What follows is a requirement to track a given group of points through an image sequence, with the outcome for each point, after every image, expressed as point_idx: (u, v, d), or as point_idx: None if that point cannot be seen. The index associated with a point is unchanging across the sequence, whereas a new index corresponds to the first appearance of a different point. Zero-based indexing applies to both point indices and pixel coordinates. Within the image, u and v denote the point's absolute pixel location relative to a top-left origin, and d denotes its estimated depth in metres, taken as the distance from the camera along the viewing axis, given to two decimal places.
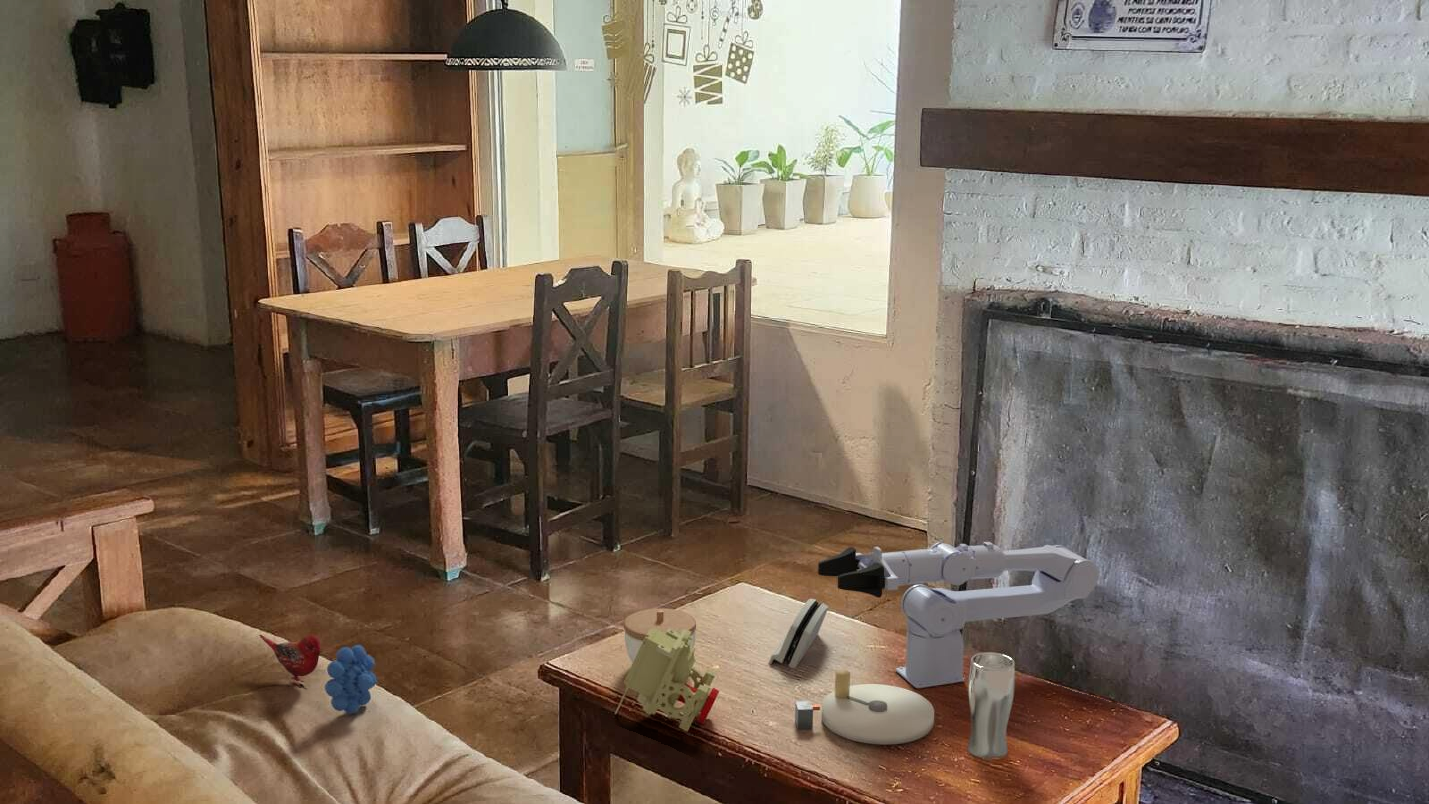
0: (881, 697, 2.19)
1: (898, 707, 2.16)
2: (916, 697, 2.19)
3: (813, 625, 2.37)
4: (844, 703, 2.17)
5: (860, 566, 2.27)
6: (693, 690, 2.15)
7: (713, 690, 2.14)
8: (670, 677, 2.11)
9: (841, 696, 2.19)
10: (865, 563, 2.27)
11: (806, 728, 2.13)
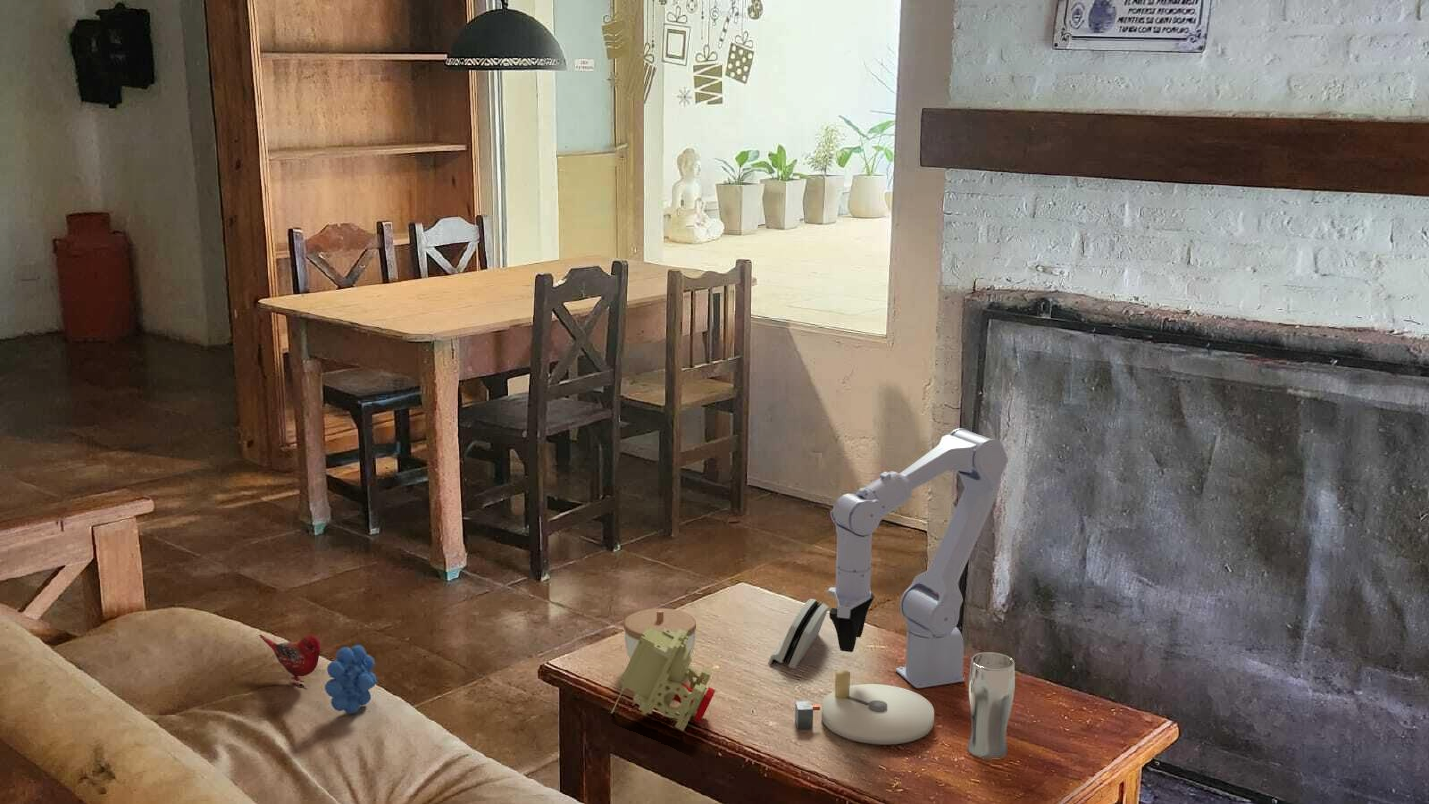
0: (881, 697, 2.19)
1: (898, 707, 2.16)
2: (916, 697, 2.19)
3: (813, 625, 2.37)
4: (844, 703, 2.17)
5: None
6: (689, 690, 2.15)
7: (709, 690, 2.14)
8: (666, 677, 2.11)
9: (841, 696, 2.19)
10: None
11: (806, 728, 2.13)
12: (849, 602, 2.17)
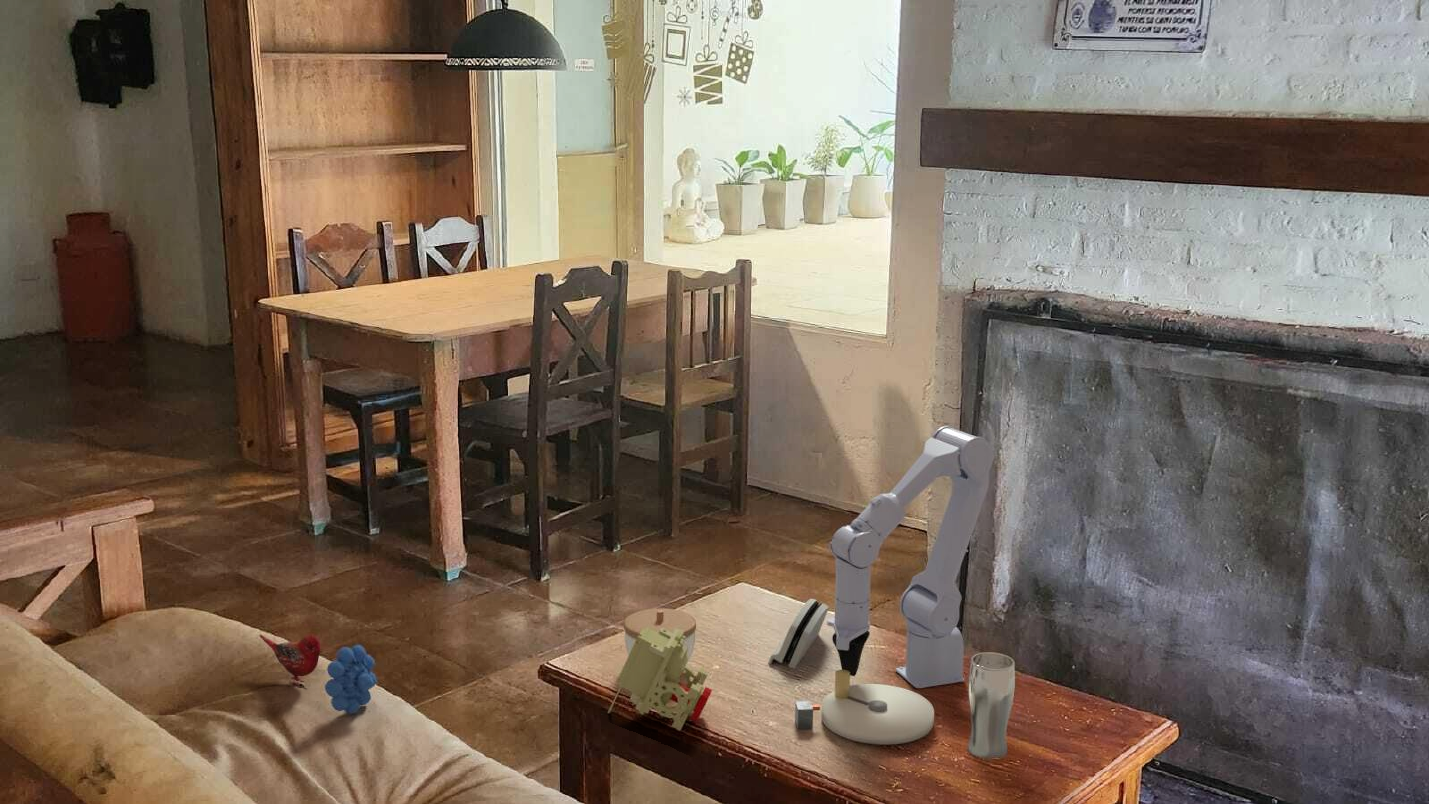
0: (881, 697, 2.19)
1: (898, 707, 2.16)
2: (916, 697, 2.19)
3: (813, 625, 2.37)
4: (844, 703, 2.17)
5: None
6: (686, 689, 2.15)
7: (706, 689, 2.15)
8: (663, 676, 2.11)
9: (841, 696, 2.19)
10: None
11: (806, 728, 2.13)
12: (848, 634, 2.19)
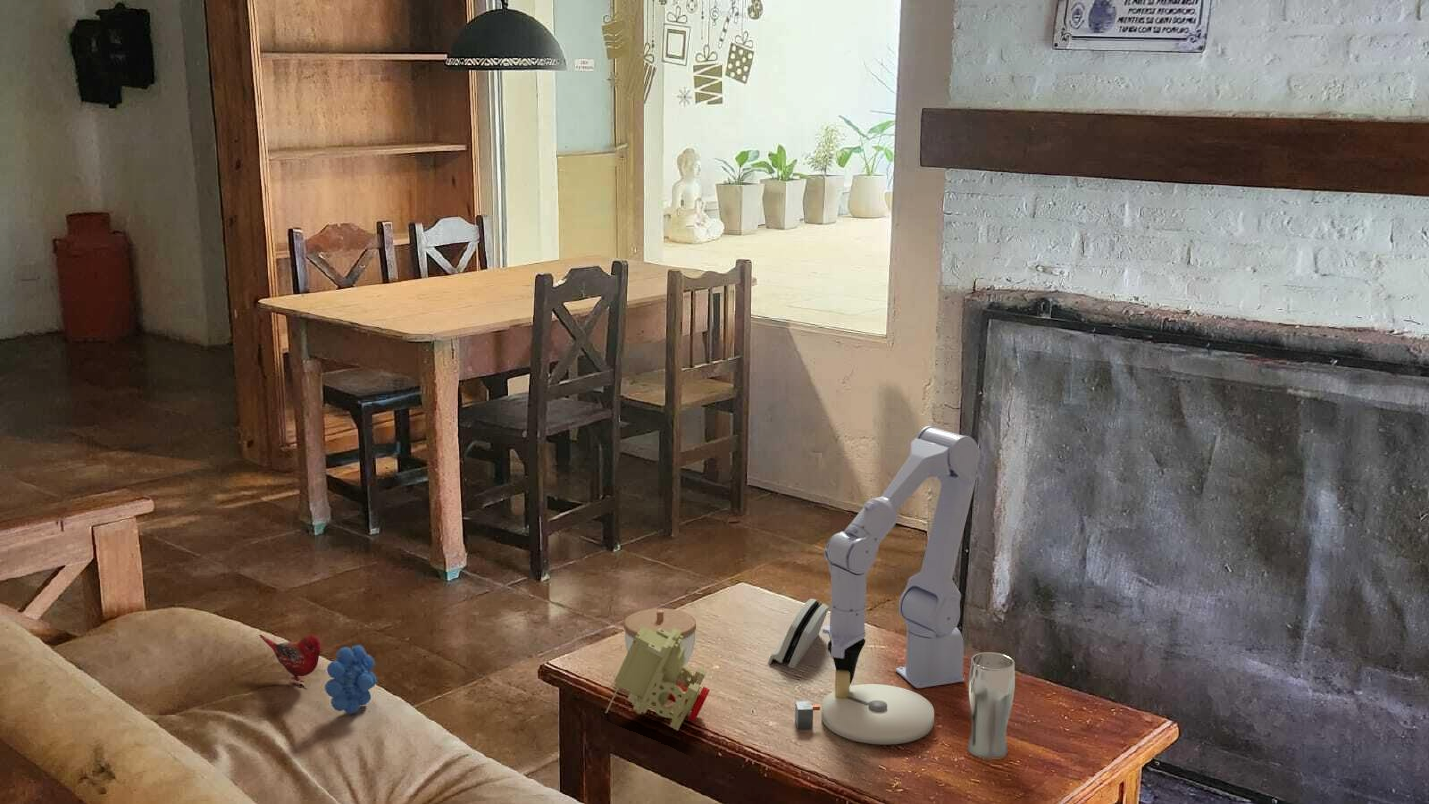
0: (881, 697, 2.19)
1: (898, 707, 2.16)
2: (916, 697, 2.19)
3: (813, 625, 2.37)
4: (844, 703, 2.17)
5: None
6: (684, 689, 2.15)
7: (703, 689, 2.15)
8: (660, 676, 2.11)
9: (841, 696, 2.19)
10: None
11: (806, 728, 2.13)
12: (843, 641, 2.15)
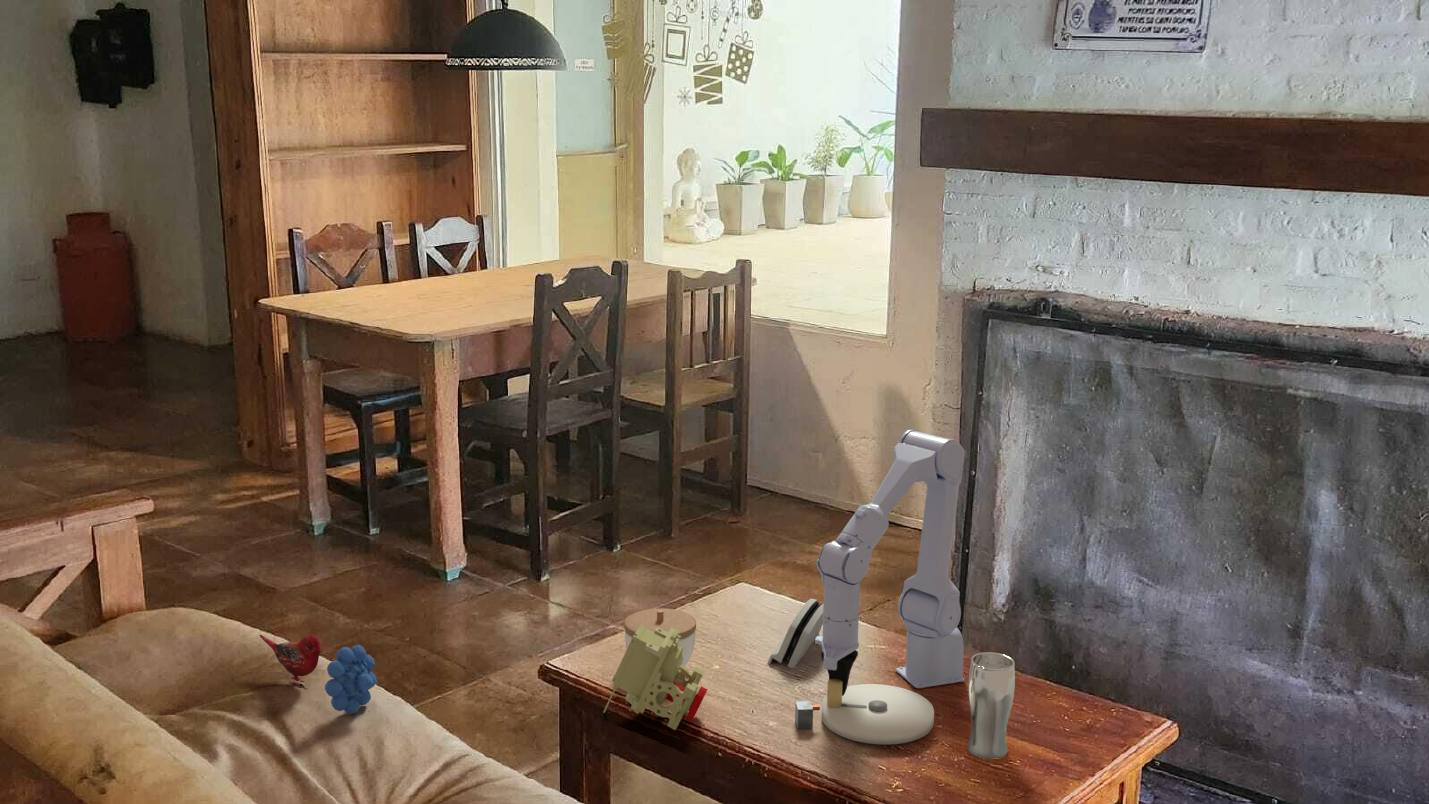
0: (867, 697, 2.19)
1: (893, 702, 2.17)
2: (894, 689, 2.22)
3: (812, 625, 2.37)
4: (846, 712, 2.14)
5: None
6: (681, 689, 2.15)
7: (701, 689, 2.15)
8: (658, 676, 2.11)
9: (837, 705, 2.15)
10: None
11: (806, 728, 2.13)
12: (836, 653, 2.11)
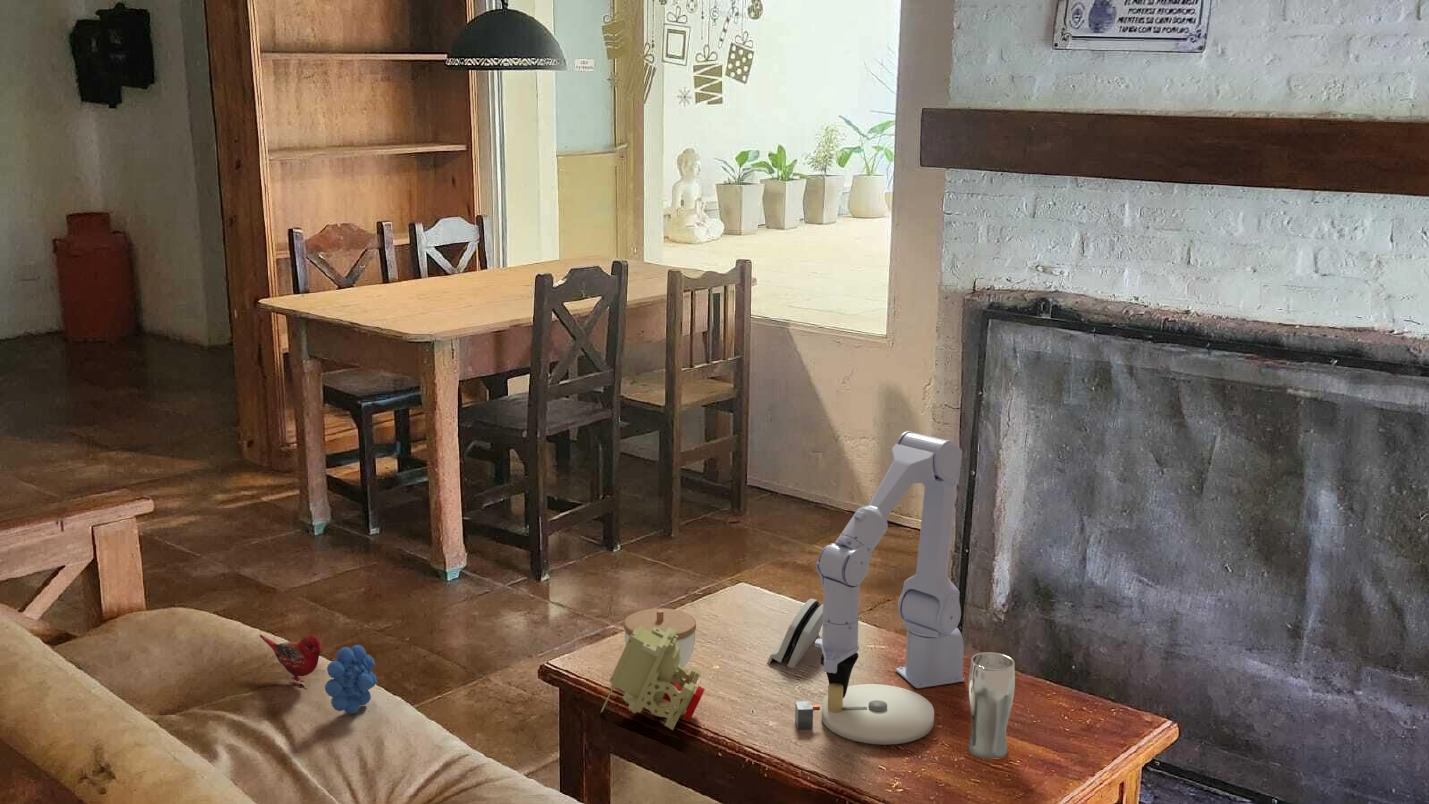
0: (862, 698, 2.19)
1: (889, 701, 2.18)
2: (884, 688, 2.23)
3: (812, 625, 2.37)
4: (850, 715, 2.13)
5: None
6: (679, 688, 2.15)
7: (699, 688, 2.15)
8: (655, 675, 2.12)
9: (839, 710, 2.14)
10: None
11: (806, 728, 2.13)
12: (836, 656, 2.10)
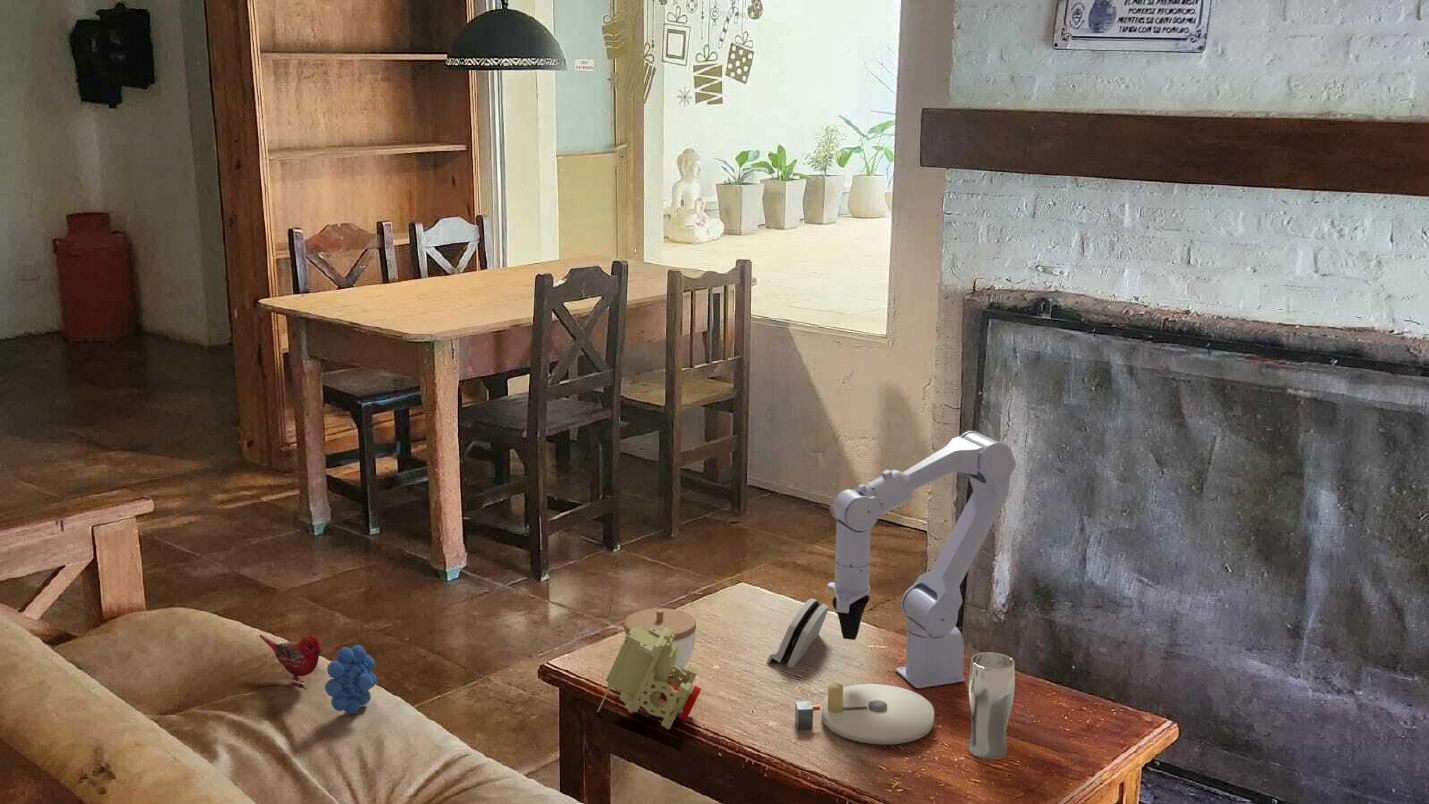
0: (862, 698, 2.19)
1: (889, 701, 2.18)
2: (884, 687, 2.23)
3: (812, 625, 2.37)
4: (850, 715, 2.13)
5: None
6: (675, 688, 2.15)
7: (695, 688, 2.15)
8: (652, 675, 2.12)
9: (839, 710, 2.14)
10: None
11: (806, 728, 2.13)
12: (848, 597, 2.20)
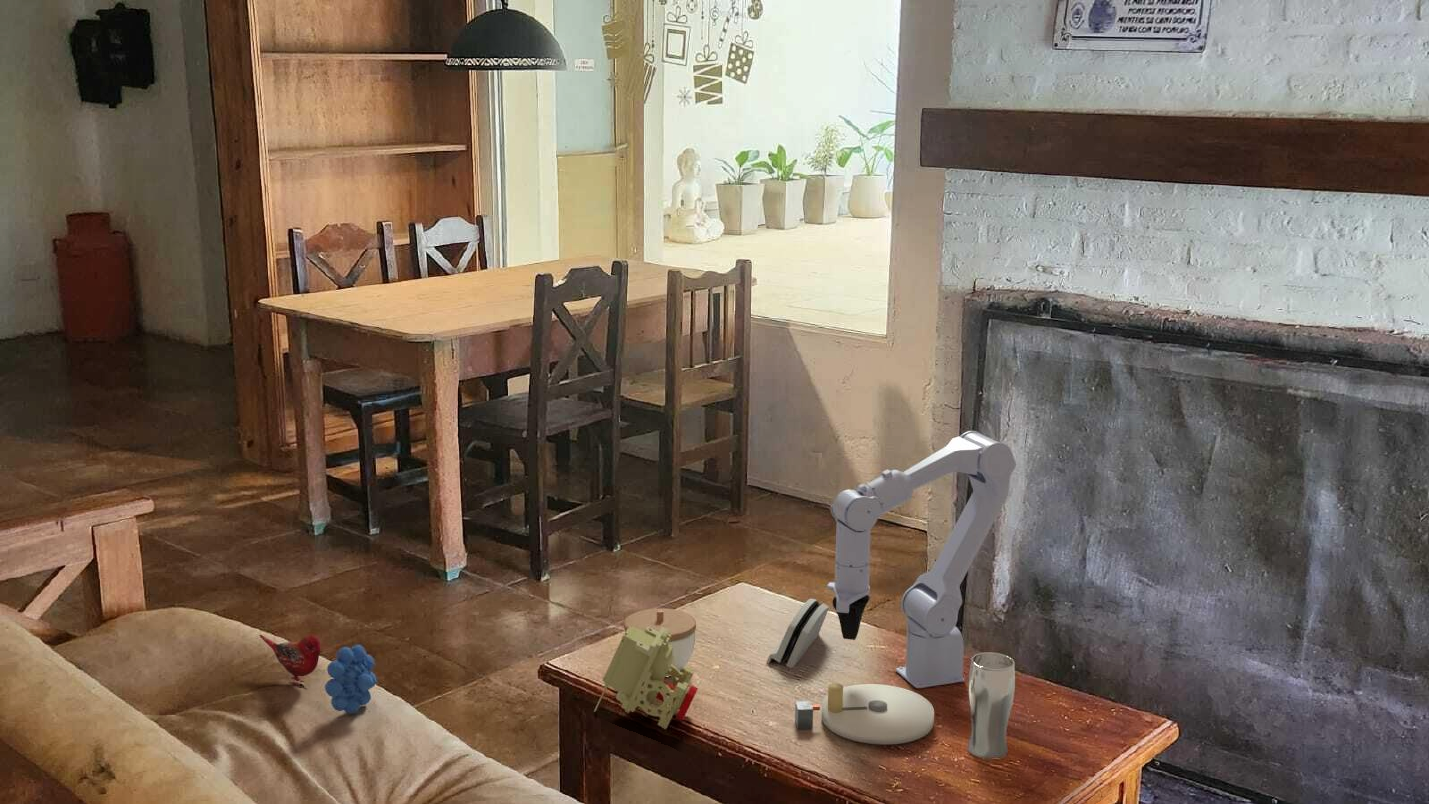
0: (862, 698, 2.19)
1: (889, 701, 2.18)
2: (884, 687, 2.23)
3: (811, 625, 2.37)
4: (850, 715, 2.13)
5: None
6: (672, 688, 2.15)
7: (692, 687, 2.15)
8: (648, 675, 2.12)
9: (839, 710, 2.14)
10: None
11: (806, 728, 2.13)
12: (848, 597, 2.20)
